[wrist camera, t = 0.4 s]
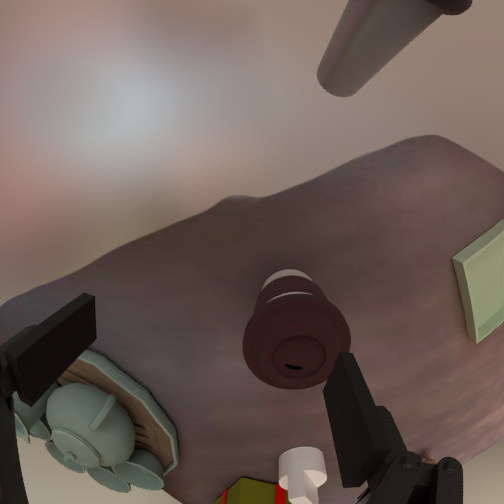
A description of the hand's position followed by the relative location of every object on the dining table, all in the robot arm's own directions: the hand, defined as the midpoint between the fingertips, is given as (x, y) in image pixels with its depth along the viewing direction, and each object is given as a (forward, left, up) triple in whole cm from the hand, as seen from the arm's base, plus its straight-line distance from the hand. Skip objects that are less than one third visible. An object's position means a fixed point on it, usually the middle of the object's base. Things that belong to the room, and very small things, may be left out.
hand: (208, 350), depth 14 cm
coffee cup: (-2, +8, -24) cm, 25 cm away
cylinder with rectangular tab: (+12, +42, -24) cm, 50 cm away
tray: (-34, +24, -24) cm, 48 cm away
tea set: (+46, +15, -24) cm, 54 cm away
